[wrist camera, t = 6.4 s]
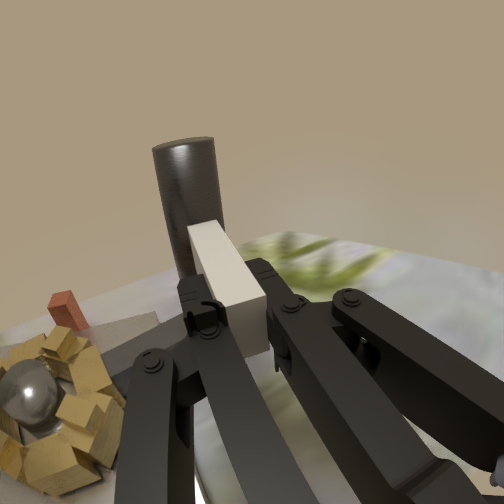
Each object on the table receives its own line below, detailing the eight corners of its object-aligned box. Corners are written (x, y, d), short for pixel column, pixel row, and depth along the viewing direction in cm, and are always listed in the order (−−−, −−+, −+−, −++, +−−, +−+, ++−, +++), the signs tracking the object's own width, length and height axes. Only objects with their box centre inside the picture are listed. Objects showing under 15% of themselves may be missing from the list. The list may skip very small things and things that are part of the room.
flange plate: (-13, 523, 5) (-69, 492, 2) (8, 344, 21) (-18, 304, 18) (221, 531, 9) (195, 524, 7) (157, 309, 26) (140, 259, 23)
